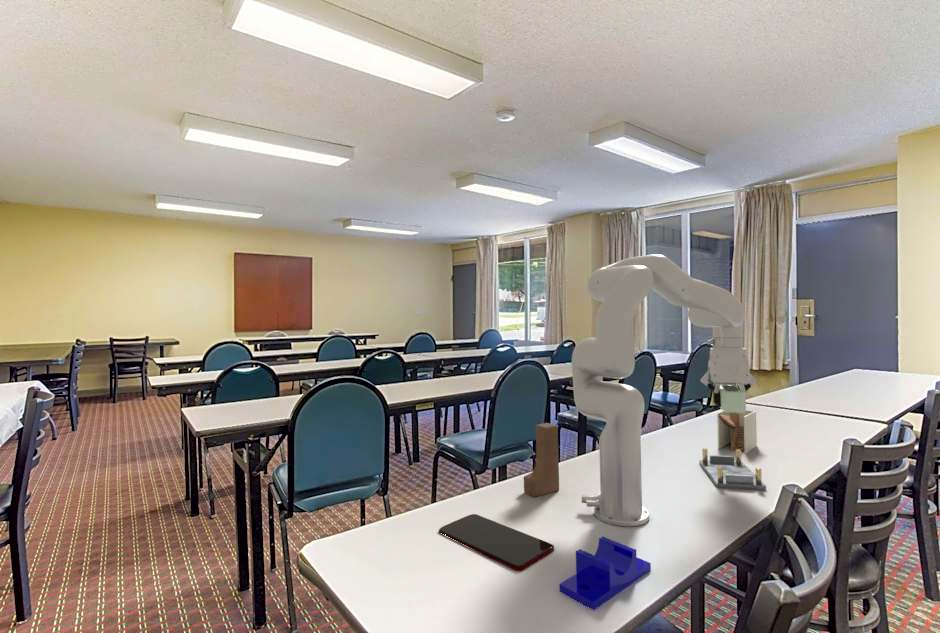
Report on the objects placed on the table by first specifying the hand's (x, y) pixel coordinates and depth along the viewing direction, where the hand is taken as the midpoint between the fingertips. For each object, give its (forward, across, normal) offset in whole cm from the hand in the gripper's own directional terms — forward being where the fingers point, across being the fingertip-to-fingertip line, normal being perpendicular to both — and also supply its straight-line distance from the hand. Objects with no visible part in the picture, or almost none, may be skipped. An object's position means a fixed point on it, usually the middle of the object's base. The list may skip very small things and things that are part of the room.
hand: (728, 405), depth 138 cm
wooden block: (+21, -52, -20) cm, 60 cm away
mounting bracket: (+21, -37, -61) cm, 74 cm away
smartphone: (+21, -60, -49) cm, 81 cm away
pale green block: (+1, 0, 0) cm, 1 cm away
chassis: (+20, 0, 0) cm, 20 cm away
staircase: (+21, +11, +30) cm, 39 cm away
